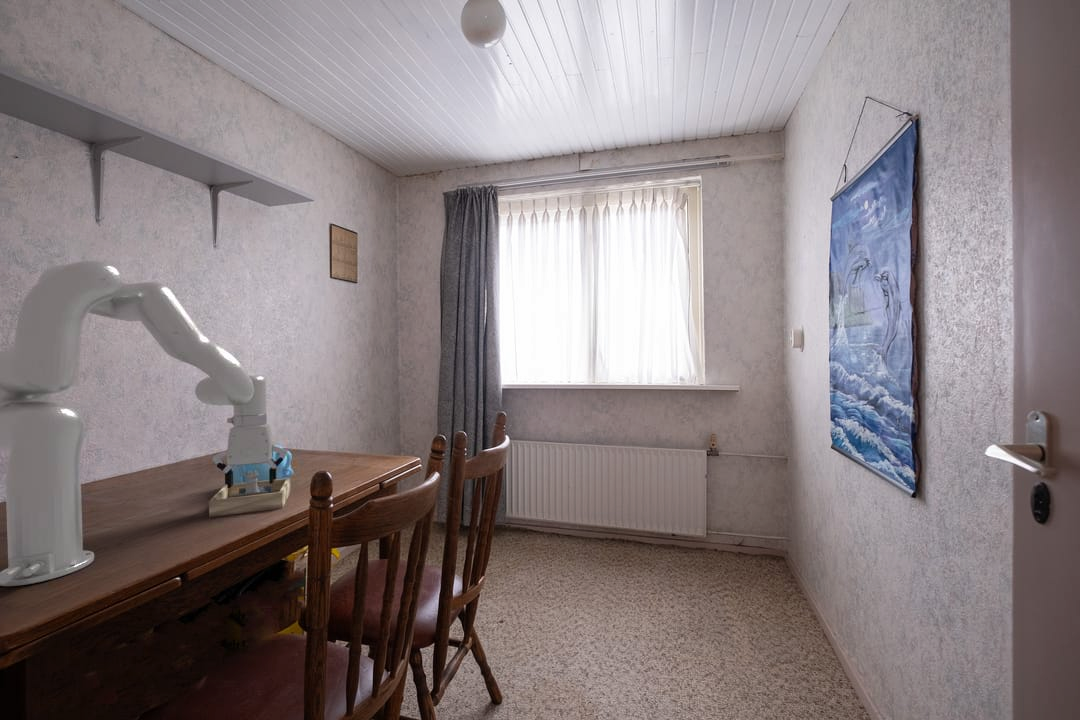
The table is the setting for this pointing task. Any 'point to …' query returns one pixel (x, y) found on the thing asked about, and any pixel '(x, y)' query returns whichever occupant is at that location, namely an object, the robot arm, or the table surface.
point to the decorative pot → (264, 469)
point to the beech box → (249, 499)
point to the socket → (262, 490)
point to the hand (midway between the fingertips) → (251, 484)
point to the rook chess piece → (251, 482)
